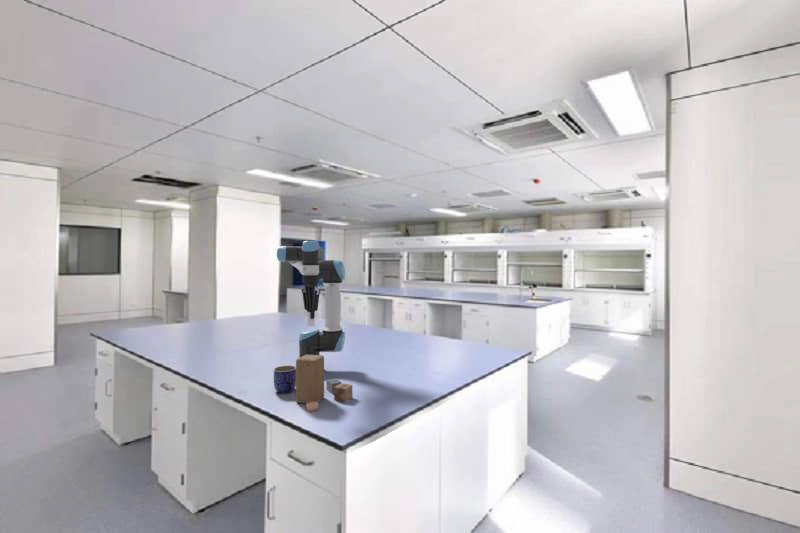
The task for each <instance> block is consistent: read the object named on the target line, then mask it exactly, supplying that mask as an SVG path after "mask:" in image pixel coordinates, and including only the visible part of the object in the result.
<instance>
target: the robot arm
mask: <svg viewBox="0 0 800 533" xmlns="http://www.w3.org/2000/svg"><path fill="white" fill-rule="evenodd" d="M325 255H326V252H325V249H323V247H321V246H320V243H319V242H318V240H305V241H303V242H302V245H300V246H299V245H296V246H295V245H293V246H292V245H291V246H290V245H287V246H286V245H284V246H279V247H278V248H277V250H276V259H277V260H278V261H279V262H283V263H285V262H286V263H289V264H290V265H291V266H293V267H294V268H296V269H297V270H298V272H299V273H300V274H301V275H302V277H301V278H302V279H301V281H302V282H301V283H302V284H304V287H303V288H302V289H301V293H302V302H303V309H304V311H305V310H306V312H307V314H306V315H307V327H314V326H315V315H316V314H315V312H316V311H318V308H319V302H320V295H321V290H320V289H319V288H318V284H319V283H320V281H322V282H321V283H322V284H323V286H324V327H323V328H322V331H320V329H318V328H313V329H307V330H306V329H305V330H304V331H301V332H300V333H299V336H298V337H299V339H298V341H299V342H298V343H299V344H298V348H299V350H298V352H299V353H298V354H299V356H298V358H300V357H302V356H304V355H320V353H337V352H338V353H340V352H342V351H343V349H344V346H345V340H346V331H343V327H341V324H340V323H341V320H340V319H341V314H340V313H341V308H340V306H341V303H340V302H341V300H340V299H341V298H340V297H341V293H340V292H341V289H340V287H341V285H342V284H343V281H344V280H346V271H345V266H344V263H343V261H341V260H336V259H332V260H331V259H325V258H326V256H325Z"/></svg>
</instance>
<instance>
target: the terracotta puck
mask: <svg viewBox="0 0 800 533" xmlns="http://www.w3.org/2000/svg"><path fill="white" fill-rule="evenodd" d="M317 411H319V402H318V401H309V402H307V404H306V412H309V413H315V412H317Z"/></svg>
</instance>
